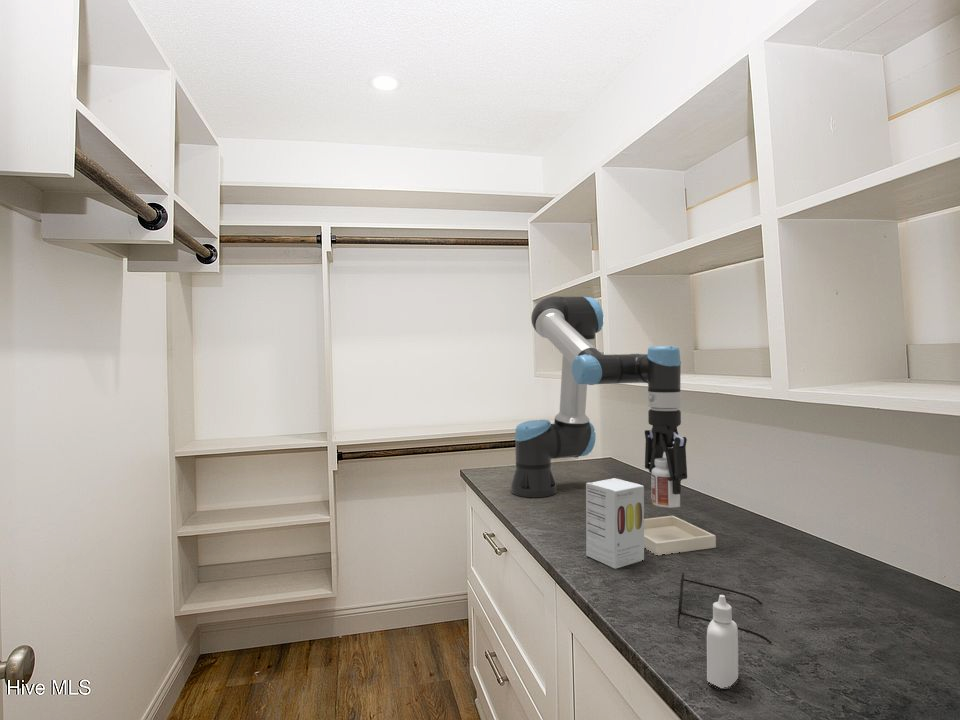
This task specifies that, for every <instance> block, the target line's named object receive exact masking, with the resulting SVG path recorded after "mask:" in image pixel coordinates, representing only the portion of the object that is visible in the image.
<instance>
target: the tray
mask: <svg viewBox="0 0 960 720" xmlns="http://www.w3.org/2000/svg"><path fill="white" fill-rule="evenodd" d="M716 537H717V536H716V535H715V534H713V533H711V532H709V531H707V530H704V529H703V528H700V527H698V526H696V525H694V524H691V523H690V522H687V521H686V520H684V519H681V518H679V517H676V516H675V515H668V516H658V517H650V518H644V549H645V548H646V549H645V550H646V551H648V550H649V551H648V552H650V551H651V552H650V553H652V554H653V553H654V554H653V555H655V556H656V555H658V556H663V555H662V554H665V555H670V554H671V553H673V554H678V553H679V552H680V553H685V552H692V551H700V550H706V549H707V550H708V549H714V548H715V549H716V548H717V538H716ZM671 555H672V554H671Z"/></svg>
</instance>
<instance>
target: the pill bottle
mask: <svg viewBox="0 0 960 720" xmlns="http://www.w3.org/2000/svg"><path fill="white" fill-rule="evenodd" d="M654 464H655V466H656V467H655V468H653V469H652V499H651V503H652V504H653V506H656V507H660V508H669V509H670V507H668V479H669V478H670V473H669V468H668V463H667V458H666V457H663V458H656V459H655V463H654Z"/></svg>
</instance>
